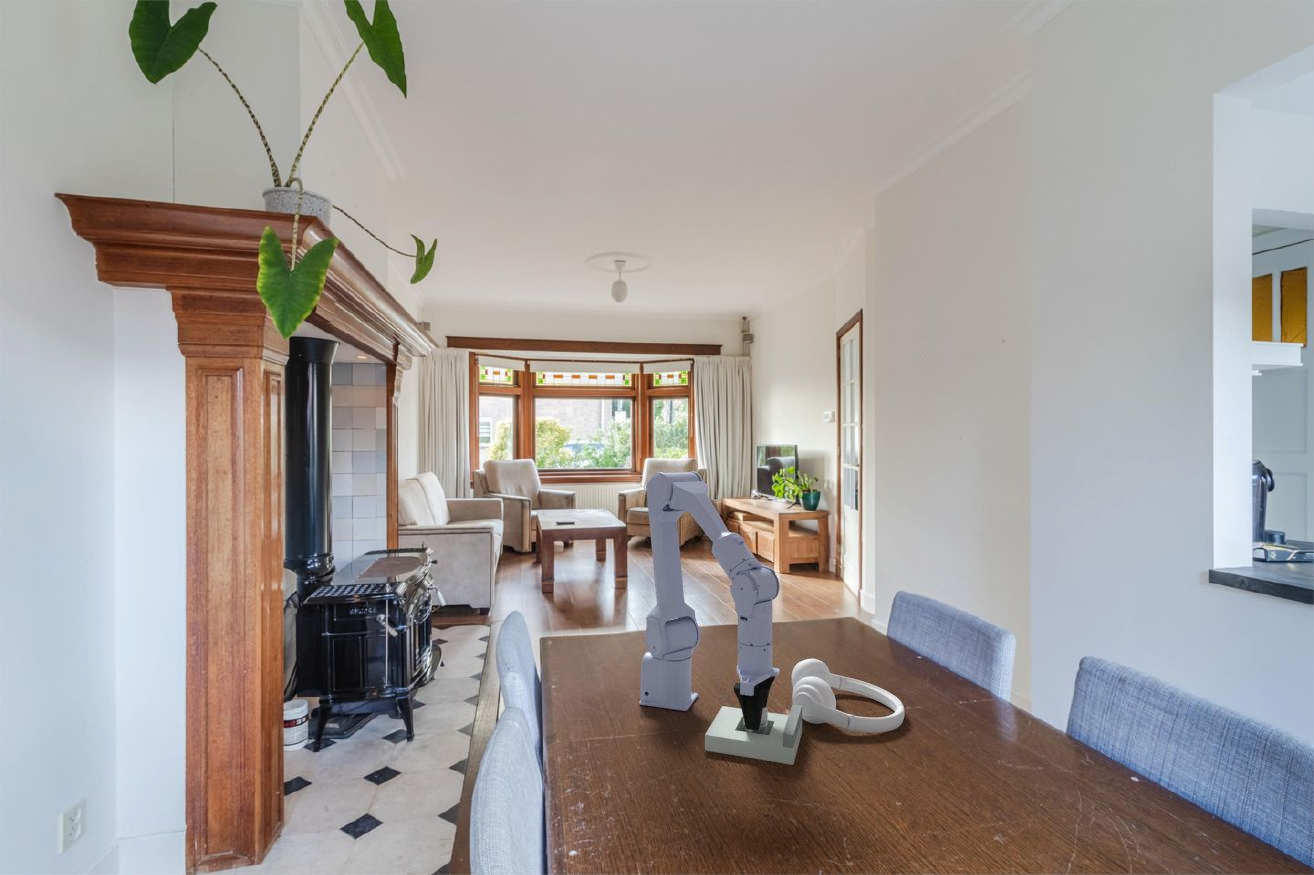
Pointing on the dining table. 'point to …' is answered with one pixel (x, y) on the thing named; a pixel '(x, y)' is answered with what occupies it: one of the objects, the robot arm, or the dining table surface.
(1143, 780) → the dining table surface
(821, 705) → the headphones
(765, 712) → the peg
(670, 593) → the robot arm
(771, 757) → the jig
